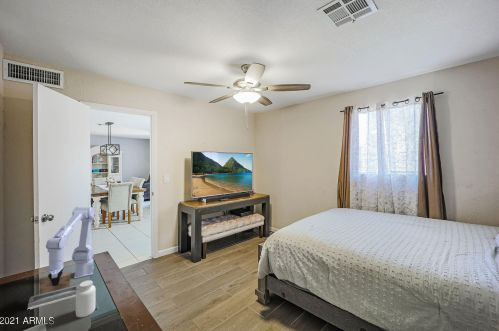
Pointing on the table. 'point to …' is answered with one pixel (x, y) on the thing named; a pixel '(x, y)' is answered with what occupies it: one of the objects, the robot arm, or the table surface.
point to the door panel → (48, 287)
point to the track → (52, 297)
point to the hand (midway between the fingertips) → (55, 284)
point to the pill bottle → (85, 299)
